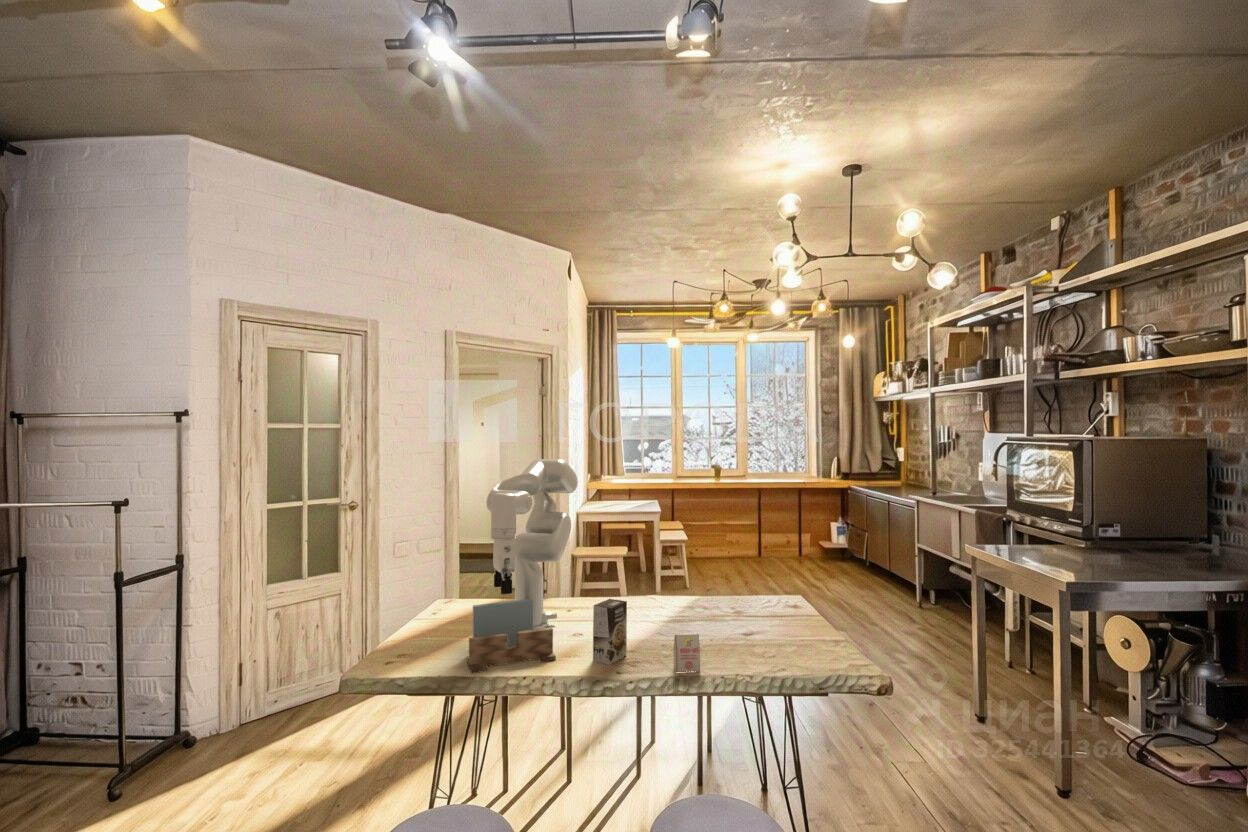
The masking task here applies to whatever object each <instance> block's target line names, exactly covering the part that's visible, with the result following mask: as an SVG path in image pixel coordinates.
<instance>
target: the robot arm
mask: <svg viewBox="0 0 1248 832" xmlns="http://www.w3.org/2000/svg"><path fill="white" fill-rule="evenodd" d="M576 489H578V476H577V473H576V472H575V470H574V469H573V468H572V467H571V466H570V464H569V463H567V462H566V461H565V460H564V459H559V458H558V459H557V458H555V459H554V458H538V459H535V460H533V461H531V462H530V464H528V466H527V467H526V468H525V469H524V470H523V471H522V473H520V474H518V475H515V476H512V477H510V478H507V479H504V480H501V481H499V483H497V484H496V485H494V487H493V488H492V489H491V490H490V491H489V492H488V495H487V498H486V508H487V510H488V511H489V512H490V513H491V514H490V516H491V517H490V518H491V519H490V521H491V522H490V525H491V527H490V539H491V540H493V553H492V554H493V555H492V556H493V557H492V560H493V561H492V563H493V564H492V565H493V568H494V571H493V573H494V574H493V587H495V588H500V594H501V595H511V594H512V593H513V573H514V601H516V600H525V599H532V600H533V630H534V629H541V628H548V626H549V624H548V623H549V622H548V621H549V620H556V619H557V618H558V614H557V612H551V611H548V612H545V611H544V572H543V570H542V567H541V565H540V564H539V563H538V562H540V563H556V562H560V560H561V559H562V558H563V555H564V553H565V549H566V547H567V544H568V541H569V539H570V535H571V531H572V520H571V517H570V514H569V515H568V513H566V512H562V511H557V510H558V509H557V508H558V506H557V503H556V502H555V500H554V499H553V498H552V497H551V496H550V494H572V493H574V492H575V491H576ZM533 503H534V504H533ZM530 510H531V511H530ZM529 511H530V514H529V516H528V518H527V521H526V524H525V532H523V533H519V534H517V515H526V514H527V513H529Z"/></svg>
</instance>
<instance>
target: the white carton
mask: <svg viewBox="0 0 1248 832" xmlns="http://www.w3.org/2000/svg"><path fill="white" fill-rule="evenodd" d="M700 645H701V643H700V634H699V633H685V634H684V633H681V634H680V633H679V634H674V641H673V670H674V669H675V670H674V672H675V671H676V672H686V671H687V672H689V671H690V672H691V671H694V672H695V671H696V672H700V673H701V647H700ZM676 672H675V673H676Z"/></svg>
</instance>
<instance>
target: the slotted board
mask: <svg viewBox="0 0 1248 832" xmlns="http://www.w3.org/2000/svg"><path fill="white" fill-rule="evenodd" d="M553 635H554V629H553V628H552V627H551V626H550V627H546V628H541V629H534V630H526V631H519V632H517V646H510V647H508V635H506V634H505V633H504V634H496V635H489V636H481V637H474V638H473V637H469V638H468V658H467V659H466V664H467V666H468V668H469V670H470V672H471V674H475V673H474V672H476V673H480V672H479V671H483V672H486V671H485V670H487V668H488V667H491V666H490V665H495V666H500V665H499V664H501V665H506V664H505V663H508V664H514V663H518V662H519V661H521V662H525V661H524V660H527V661H530V660H529V659H534V660H540V661H541V662H542V663H545V662H552V661H556V659H557V658H556V657H557V656H556V654H555V653H554V645H553V643H554V636H553ZM538 658H540V659H538ZM513 662H514V663H513ZM519 663H520V662H519ZM487 666H488V667H487Z"/></svg>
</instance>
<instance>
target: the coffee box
mask: <svg viewBox="0 0 1248 832" xmlns="http://www.w3.org/2000/svg"><path fill="white" fill-rule="evenodd" d="M627 602H628V601H627V600H621V599H614V598H613V599H612V598H608V599H606V600H604V601H601V602H598V603H596V604H593V620H592V623H593V626H592V661H593V662H597V663H600V662H601V664H604V663H605V665H609V666H610V665H612V663H613V664H614V663H616V662H617V661H618V662H619V661H620V660H622V659H623V658H625V657H627V644H628V643H627V640H628V639H627V638H628V637H627V635H628V633H627V632H628V631H627V626H628V625H627V624H628V623H627V622H628V620H627V619H628V614H627V613H628V612H627V609H628V607H627V606H628V605H627V604H628V603H627ZM624 656H625V657H624ZM619 659H620V660H619Z"/></svg>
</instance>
